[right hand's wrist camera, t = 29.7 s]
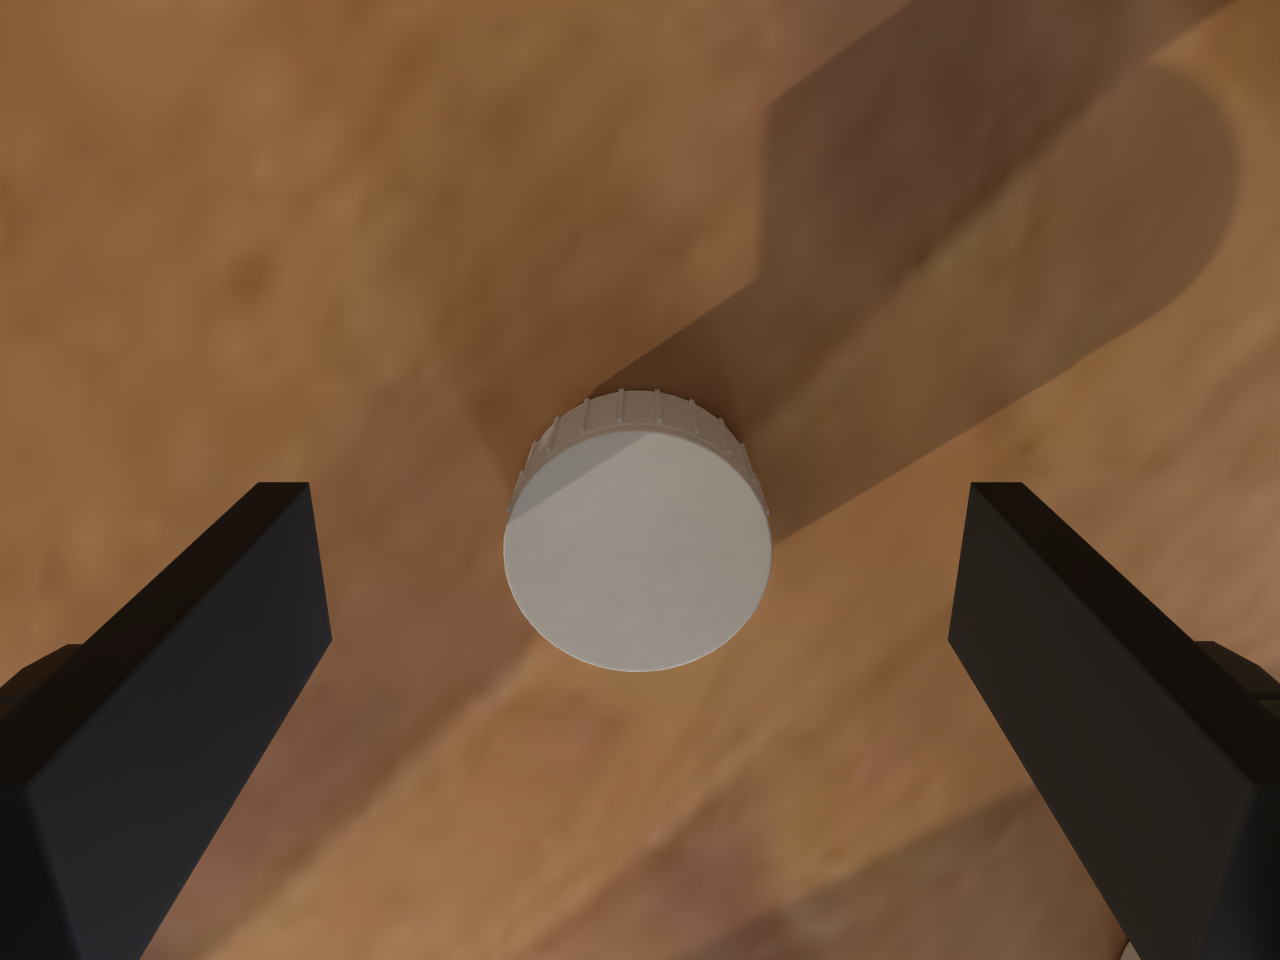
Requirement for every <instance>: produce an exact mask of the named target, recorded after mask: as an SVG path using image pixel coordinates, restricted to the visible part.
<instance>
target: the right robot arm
mask: <svg viewBox="0 0 1280 960" xmlns="http://www.w3.org/2000/svg"><path fill="white" fill-rule="evenodd" d="M331 641H332V636H331V629H330V622H329V615H328V608H327V602H326V595H325V588H324V581H323V575H322V568H321V561H320V554H319V547H318V541H317V534H316V527H315V520H314V513H313V507H312V500H311V493H310V486H309V482H258V483H257V484H256V485H255V486H254V487H253V488H252V489H250V490H249V491H248V492H247V493H246V494H245V495H244V496H243V497H242V498H241V499H240V500H239V501H237V502H236V503H235V504H234V505H233V506H232V507H231V508H230V509H229V510H228V511H227V512H226V513H224V514H223V515H222V516H221V517H220V518H219V519H218V520H217V521H216V522H215V523H214V524H213V525H211V526H210V527H209V528H208V529H207V530H206V531H205V532H204V533H203V534H202V535H201V536H200V537H198V538H197V539H196V540H195V541H194V542H193V543H192V544H191V545H190V546H189V547H188V548H187V549H185V550H184V551H183V552H182V553H181V554H180V555H179V556H178V557H177V558H176V559H175V560H174V561H172V562H171V563H170V564H169V565H168V566H167V567H166V568H165V569H164V570H163V571H162V572H161V573H159V574H158V575H157V576H156V577H155V578H154V579H153V580H152V581H151V582H150V583H149V584H148V585H146V586H145V587H144V588H143V589H142V590H141V591H140V592H139V593H138V594H137V595H136V596H135V597H133V598H132V599H131V600H130V601H129V602H128V603H127V604H126V605H125V606H124V607H123V608H122V609H120V610H119V611H118V612H117V613H116V614H115V615H114V616H113V617H112V618H111V619H110V620H109V621H107V622H106V623H105V624H104V625H103V626H102V627H101V628H100V629H99V630H98V631H97V632H96V633H94V634H93V635H92V636H91V637H90V638H89V639H88V640H87V641H86V642H85V643H84V644H67V645H65V646H63V647H62V648H60V649H58V650H56V651H54V652H52V653H50V654H49V655H47V656H45V657H43V658H41V659H39V660H37V661H36V662H34V663H32V664H30V665H28V666H26V667H24V668H23V669H21V670H20V671H19V672H18V673H17V674H15V675H14V676H13V677H12V678H11V679H10V680H9V681H7V682H6V683H5V684H4V685H3V686H2V687H1V688H0V960H139V959H140V957H141V956H142V954H143V953H144V951H145V949H146V948H147V946H148V944H149V943H150V941H151V939H152V938H153V936H154V934H155V933H156V931H157V929H158V928H159V926H160V924H161V923H162V921H163V919H164V918H165V916H166V914H167V913H168V911H169V909H170V908H171V906H172V904H173V903H174V901H175V899H176V898H177V896H178V895H179V893H180V891H181V890H182V888H183V886H184V885H185V883H186V881H187V880H188V878H189V876H190V875H191V873H192V871H193V870H194V868H195V866H196V865H197V863H198V861H199V860H200V858H201V856H202V855H203V853H204V851H205V850H206V848H207V846H208V845H209V843H210V842H211V840H212V838H213V837H214V835H215V833H216V832H217V830H218V828H219V827H220V825H221V823H222V822H223V820H224V818H225V817H226V815H227V813H228V812H229V810H230V808H231V807H232V805H233V803H234V802H235V800H236V798H237V797H238V795H239V793H240V792H241V790H242V789H243V787H244V785H245V784H246V782H247V780H248V779H249V777H250V775H251V774H252V772H253V770H254V769H255V767H256V765H257V764H258V762H259V760H260V759H261V757H262V755H263V754H264V752H265V750H266V749H267V747H268V745H269V744H270V742H271V740H272V739H273V737H274V735H275V734H276V732H277V731H278V729H279V727H280V726H281V724H282V722H283V721H284V719H285V717H286V716H287V714H288V712H289V711H290V709H291V707H292V706H293V704H294V702H295V701H296V699H297V697H298V696H299V694H300V692H301V691H302V689H303V687H304V686H305V684H306V682H307V681H308V679H309V678H310V676H311V674H312V673H313V671H314V669H315V668H316V666H317V664H318V663H319V661H320V659H321V658H322V656H323V654H324V653H325V651H326V649H327V648H328V646H329V644H330V643H331ZM948 641H949V643H950V644H951V646H952V648H953V649H954V651H955V653H956V654H957V656H958V658H959V659H960V661H961V663H962V664H963V666H964V668H965V669H966V671H967V673H968V674H969V676H970V678H971V679H972V681H973V683H974V684H975V686H976V687H977V689H978V691H979V692H980V694H981V696H982V697H983V699H984V701H985V702H986V704H987V706H988V707H989V709H990V711H991V712H992V714H993V716H994V717H995V719H996V721H997V722H998V724H999V726H1000V727H1001V729H1002V731H1003V732H1004V734H1005V736H1006V737H1007V739H1008V740H1009V742H1010V744H1011V745H1012V747H1013V749H1014V750H1015V752H1016V754H1017V755H1018V757H1019V759H1020V760H1021V762H1022V764H1023V765H1024V767H1025V769H1026V770H1027V772H1028V774H1029V775H1030V777H1031V779H1032V780H1033V782H1034V784H1035V785H1036V787H1037V789H1038V790H1039V792H1040V793H1041V795H1042V797H1043V798H1044V800H1045V802H1046V803H1047V805H1048V807H1049V808H1050V810H1051V812H1052V813H1053V815H1054V817H1055V818H1056V820H1057V822H1058V823H1059V825H1060V827H1061V828H1062V830H1063V832H1064V833H1065V835H1066V837H1067V838H1068V840H1069V842H1070V843H1071V845H1072V847H1073V848H1074V850H1075V851H1076V853H1077V855H1078V856H1079V858H1080V860H1081V861H1082V863H1083V865H1084V866H1085V868H1086V870H1087V871H1088V873H1089V875H1090V876H1091V878H1092V880H1093V881H1094V883H1095V885H1096V886H1097V888H1098V890H1099V891H1100V893H1101V895H1102V896H1103V898H1104V900H1105V901H1106V903H1107V904H1108V906H1109V908H1110V909H1111V911H1112V913H1113V914H1114V916H1115V918H1116V919H1117V921H1118V923H1119V924H1120V926H1121V928H1122V929H1123V931H1124V933H1125V934H1126V936H1127V938H1128V939H1129V941H1130V943H1131V944H1132V946H1133V948H1134V949H1135V951H1136V953H1137V954H1138V956H1139V958H1140V959H1141V960H1280V684H1279V683H1278V682H1277V681H1276V680H1275V679H1274V678H1273V677H1271V676H1270V675H1269V674H1268V673H1267V672H1266V671H1264V670H1263V669H1262V668H1261V667H1260V666H1259V665H1257V664H1255V663H1253V662H1251V661H1249V660H1247V659H1245V658H1244V657H1242V656H1240V655H1238V654H1236V653H1234V652H1232V651H1231V650H1229V649H1227V648H1225V647H1223V646H1221V645H1219V644H1217V643H1216V642H1214V641H1193V640H1192V639H1191V638H1190V637H1189V636H1188V635H1187V634H1186V633H1184V632H1183V631H1182V630H1181V629H1180V628H1179V627H1178V626H1177V625H1176V624H1175V623H1174V622H1173V621H1171V620H1170V619H1169V618H1168V617H1167V616H1166V615H1165V614H1164V613H1163V612H1162V611H1161V610H1160V609H1158V608H1157V607H1156V606H1155V605H1154V604H1153V603H1152V602H1151V601H1150V600H1149V599H1148V598H1147V597H1145V596H1144V595H1143V594H1142V593H1141V592H1140V591H1139V590H1138V589H1137V588H1136V587H1135V586H1134V585H1132V584H1131V583H1130V582H1129V581H1128V580H1127V579H1126V578H1125V577H1124V576H1123V575H1122V574H1121V573H1119V572H1118V571H1117V570H1116V569H1115V568H1114V567H1113V566H1112V565H1111V564H1110V563H1109V562H1108V561H1106V560H1105V559H1104V558H1103V557H1102V556H1101V555H1100V554H1099V553H1098V552H1097V551H1096V550H1095V549H1093V548H1092V547H1091V546H1090V545H1089V544H1088V543H1087V542H1086V541H1085V540H1084V539H1083V538H1082V537H1080V536H1079V535H1078V534H1077V533H1076V532H1075V531H1074V530H1073V529H1072V528H1071V527H1070V526H1069V525H1067V524H1066V523H1065V522H1064V521H1063V520H1062V519H1061V518H1060V517H1059V516H1058V515H1057V514H1056V513H1054V512H1053V511H1052V510H1051V509H1050V508H1049V507H1048V506H1047V505H1046V504H1045V503H1044V502H1043V501H1041V500H1040V499H1039V498H1038V497H1037V496H1036V495H1035V494H1034V493H1033V492H1032V491H1031V490H1030V489H1028V488H1027V487H1026V486H1025V485H1024V484H1023V483H1022V482H971V486H970V493H969V500H968V507H967V513H966V520H965V527H964V534H963V540H962V547H961V554H960V561H959V568H958V574H957V581H956V588H955V595H954V602H953V608H952V615H951V622H950V629H949V636H948Z"/></svg>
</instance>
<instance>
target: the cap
mask: <svg viewBox="0 0 1280 960" xmlns="http://www.w3.org/2000/svg"><path fill="white" fill-rule="evenodd" d="M507 512H509V513H510V514H509V517H508V521H507V525H506V530H505V535H504V542H503V545H504V549H503V554H504V565H505V571H506V575H507V580H508V583H509V586H510V589H511V591H512V594H513V596H514V598H515V600H516V602H517V604H518V606H519V607H520V609H521V611H522V612H523V614H524V615H525V617H526V618H527V619H528V621H529V622H530V623H531V625H532V626H533V627H534V628H535V629H536V630H537V631H538V632H539V633H540V634H541V635H542V636H543V637H544V638H546V639H547V640H548V641H549V642H551V643H552V644H553V645H554V646H556V647H557V648H559V649H561V650H562V651H564V652H566V653H567V654H569V655H571V656H573V657H575V658H577V659H579V660H582V661H584V662H587V663H590V664H593V665H596V666H599V667H603V668H608V669H613V670H620V671H630V672H644V671H656V670H664V669H668V668H673V667H677V666H681V665H684V664H686V663H689V662H692V661H694V660H697V659H699V658H701V657H703V656H705V655H707V654H709V653H711V652H712V651H714V650H715V649H717V648H718V647H720V646H721V645H723V644H724V643H725V642H727V641H728V640H729V639H730V638H731V637H732V636H734V635H735V634H736V633H737V632H738V631H739V630H740V629H741V627H742V626H743V625H744V624H745V623H746V622H747V621H748V619H749V618H750V616H751V615H752V613H753V612H754V610H755V609H756V608H757V606H758V604H759V602H760V600H761V598H762V596H763V594H764V591H765V588H766V585H767V582H768V579H769V574H770V569H771V564H772V539H771V531H770V527H769V523H768V519H767V515H769V514H770V513H769V509H768V506H767V503H766V500H765V498H764V495H763V492H762V489H761V486H760V483H759V480H758V477H757V474H756V473H754V472H753V469H752V466H751V463H750V460H749V457H748V454H747V451H746V448H745V446H744V444H743V443H741V444H739V442H738V441H737V439H736V438H735V437H734V436H733V434H732V433H731V432H730V431H729V429H728V428H727V427H726V426H725V424H724V421H723V419H722V418H719V419H717V418H716V417H715V416H713V415H712V414H710V413H709V412H708V411H706V410H705V409H703V408H701V407H700V406H698V405H696V404H695V402H694V400H692V399H689V401H688V400H685V399H682V398H680V397H677V396H674V395H670V394H665V393H661V392H660V390H658V389H655V392H654V391H645V390H639V391H624V389H619V392H615V393H610V394H606V395H603V396H599V397H596V398H594V399H591V400H590V399H589V398H586V399H584V403H582V404H580V405H578V406H577V407H575V408H573V409H571V410H570V411H568V412H567V413H566V414H564V415H563V416H562V417H559V416H557V417H556V418H555V419H554V423H553V425H552V426H551V427H550V428H549V429H548V430H547V431H546V432H545V433H544V434H543V436H542V437H541V438H540V440H539V441H538V442H537V441H534V443H533V445H532V447H531V450H530V453H529V456H528V459H527V462H526V465H525V468H524V471H522V470H521V471H520V474H519V477H518V480H517V483H516V485H515V488H514V491H513V494H512V497H511V500H510V503H509V505H508V508H507Z"/></svg>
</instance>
